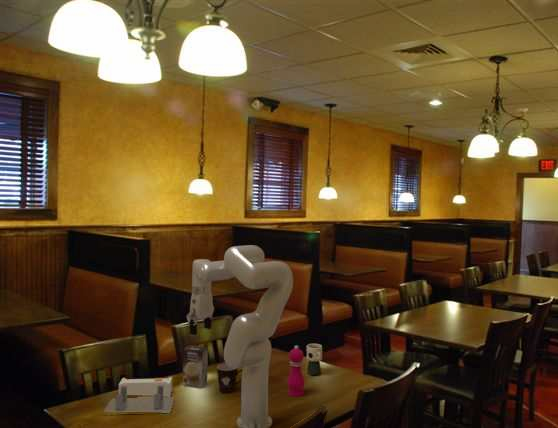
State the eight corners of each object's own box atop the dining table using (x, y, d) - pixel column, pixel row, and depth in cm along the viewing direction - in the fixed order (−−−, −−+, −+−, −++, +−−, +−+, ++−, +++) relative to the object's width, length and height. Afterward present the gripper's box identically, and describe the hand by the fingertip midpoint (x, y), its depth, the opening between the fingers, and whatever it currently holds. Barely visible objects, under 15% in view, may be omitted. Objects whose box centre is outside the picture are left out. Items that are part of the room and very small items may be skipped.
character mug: (301, 371, 231) (302, 343, 230) (315, 369, 234) (315, 341, 233) (312, 379, 221) (313, 350, 220) (326, 376, 224) (327, 348, 223)
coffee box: (182, 386, 211) (182, 349, 210) (188, 380, 217) (188, 344, 217) (202, 388, 209) (202, 351, 208) (208, 383, 215) (208, 346, 214)
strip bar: (169, 398, 199) (169, 381, 198) (118, 399, 197) (118, 383, 197) (172, 391, 206) (172, 375, 205) (122, 392, 204) (122, 376, 204)
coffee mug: (212, 392, 205) (212, 368, 205) (224, 385, 213) (224, 362, 212) (236, 397, 200) (236, 373, 199) (247, 390, 207) (247, 366, 207)
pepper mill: (303, 397, 200) (303, 348, 200) (285, 396, 202) (286, 347, 201) (305, 390, 207) (306, 343, 207) (288, 389, 209) (289, 342, 208)
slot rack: (170, 413, 184) (170, 396, 184) (103, 415, 182) (103, 398, 182) (174, 400, 196) (174, 384, 196) (111, 402, 194) (111, 385, 194)
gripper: (195, 295, 192) (195, 338, 193) (221, 287, 207) (220, 327, 208) (180, 292, 195) (179, 335, 196) (206, 285, 211) (205, 324, 212)
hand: (200, 331), depth 202 cm, fingers open, 9 cm apart
